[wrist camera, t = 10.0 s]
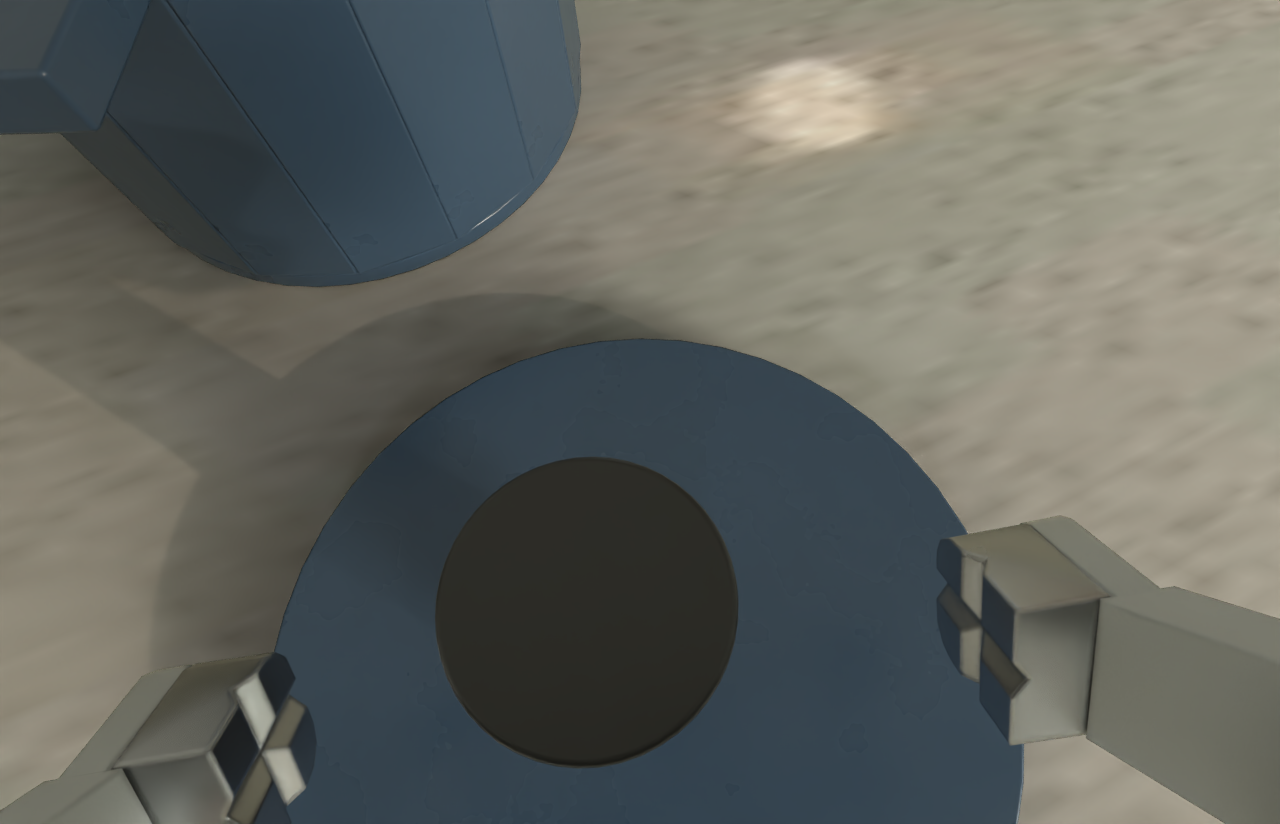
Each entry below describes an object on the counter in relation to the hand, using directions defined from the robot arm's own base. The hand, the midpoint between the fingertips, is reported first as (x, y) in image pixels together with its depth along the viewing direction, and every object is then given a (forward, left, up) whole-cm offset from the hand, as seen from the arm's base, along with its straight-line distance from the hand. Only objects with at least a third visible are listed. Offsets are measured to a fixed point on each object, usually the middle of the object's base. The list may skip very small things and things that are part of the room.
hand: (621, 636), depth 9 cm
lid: (0, 0, -5) cm, 5 cm away
